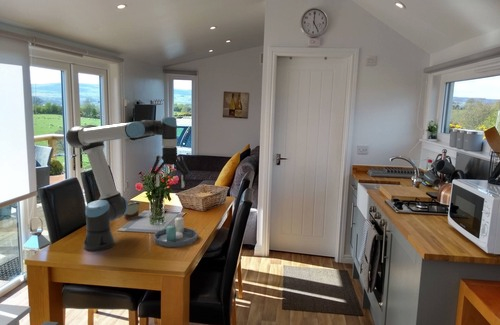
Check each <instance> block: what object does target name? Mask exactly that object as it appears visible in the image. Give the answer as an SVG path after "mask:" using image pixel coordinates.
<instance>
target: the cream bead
mask: <svg viewBox="0 0 500 325" xmlns="http://www.w3.org/2000/svg"><path fill="white" fill-rule="evenodd" d="M184 219H185V218H184V217H182V216H181V217H180V216H179V217H178V216H177V217H175V218H174V226H176V232H181V233H183V234H184V228H185V223H184V222H185V220H184Z"/></svg>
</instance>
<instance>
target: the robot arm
mask: <svg viewBox="0 0 500 325" xmlns="http://www.w3.org/2000/svg"><path fill="white" fill-rule="evenodd" d="M177 124H178V123H177V119H176V117H175V116H161V120H157V119H156V120H150V119H143V120H139V121H131V122H125V123H124V122H123V123H118V124H117V123H116V124H110V125H109V124H108V125H102V126H98V125H96V124H88V125H77V126H76V125H75V126H73V127H71V128H69V129H68V130H67V131H66V136H65V139H66V141H67V144H69V146H71V147H72V148H74V149H81V150H82V153H83V154H86V155H87V158H88V159H87V160H88V161H89V162H88V163H89V165H90V168H91V171H92V174H93V175H94V176H93V177H94V179H95V182H96V186H97V188H98V192H99V194H100V197H99V198H98V200H94V201H91V202H89V203H87V205H86V206H85V211H84V212H85V222H86V224H85V225H86V235H85V237H84V241H83V249H85V250H86V251H87V250H88V251H93V252H94V251H97V252H98V251H104V250H108V249H110V248H112V247H113V246H114V245H115V244H116V242H115V238H114V235H113V233H112V230H111V222H113V221H115V220H118V219H121V217H124V215H125V214H126V212H127V210H128V202H127V201H128V200H127V199H126V197H124V196H122V194H121V191H118V190H117V188H116V185H115V183H114V179H113V176H112V173H111V171H110V167H109V164H108V161H107V159H106V155H105V153H104V148H105V142H108V141H110V142H111V141H116V140H118V141H119V140H124V139H133V138H134V139H135V138H140V137H146V136H161V146H162V148H161V151H162V152H161V154H162V155H157V156H155V158H156V159H155V161H154V163H153V165H152V167H151V170H150V174H153V175H154V176H153V178H154V181H155V185H156V188H157V187H160V173H159V172H160V171H161V169H162V168H164V166H167V165H171V166H173V165H174V167H176V169H177V170H178V171H179V173H180V174H181V175H180V176H181V178H180V179H181V189H184V188H185V182H186V181H187V175H189V174H190V172H191V171H190V170H189V168H188V166H187V164H186V162H185V160H184V156H183V155H182V156H178V147H177V146H178V136H177V135H178V134H177V132H178V131H177V130H178V127H177V126H178V125H177ZM161 160H162V162H161V164H160V165H159V163H160V161H161ZM178 161H179V162H180V164H181V165H180V164H179V162H178ZM158 165H159V166H158Z"/></svg>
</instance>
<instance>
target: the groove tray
mask: <svg viewBox="0 0 500 325" xmlns="http://www.w3.org/2000/svg"><path fill="white" fill-rule="evenodd" d="M198 237H199V236H198V232H197V231H196V230H195V229H193V228H188V227H184V234H183V233H181V232H176V242H171V241H167V233H166V228H163V229H159V230H157V231H156V232H155V233H153V235H152V238H153V242H154V243H155V244H156V245H158V246H161V247H166V248H178V247H180V246H181V247H185V245H186V246H188V245H191V243H192V244H194V243H195V242H196V241H197V239H198ZM193 242H194V243H193Z"/></svg>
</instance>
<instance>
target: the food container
mask: <svg viewBox="0 0 500 325" xmlns="http://www.w3.org/2000/svg"><path fill="white" fill-rule="evenodd" d="M127 202H128V210H127V212H126V214H125V215H123V217H124V220H129V219H133V218H137V217H139V212H140V203H141V202H140V201H138V200H129V201H128V200H127Z"/></svg>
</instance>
